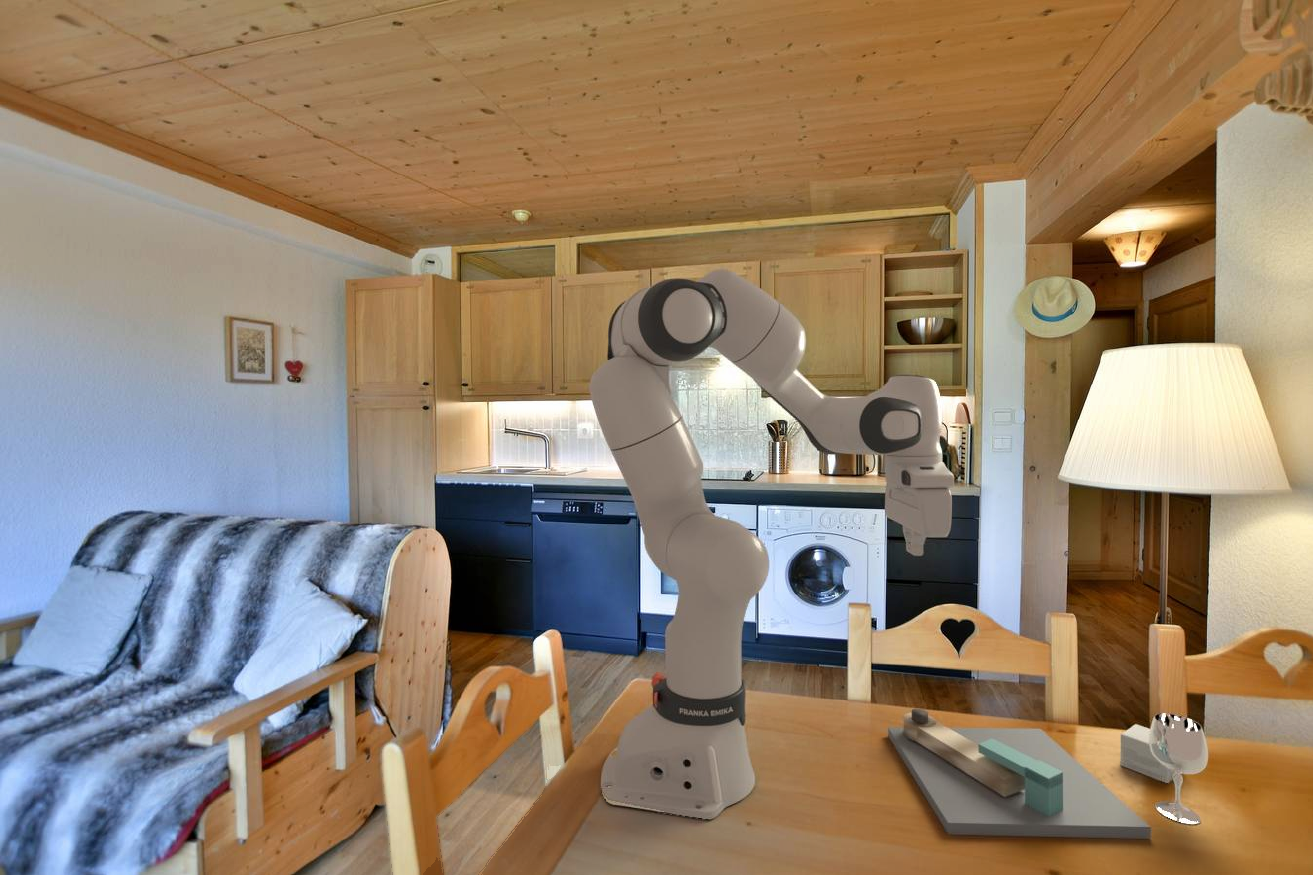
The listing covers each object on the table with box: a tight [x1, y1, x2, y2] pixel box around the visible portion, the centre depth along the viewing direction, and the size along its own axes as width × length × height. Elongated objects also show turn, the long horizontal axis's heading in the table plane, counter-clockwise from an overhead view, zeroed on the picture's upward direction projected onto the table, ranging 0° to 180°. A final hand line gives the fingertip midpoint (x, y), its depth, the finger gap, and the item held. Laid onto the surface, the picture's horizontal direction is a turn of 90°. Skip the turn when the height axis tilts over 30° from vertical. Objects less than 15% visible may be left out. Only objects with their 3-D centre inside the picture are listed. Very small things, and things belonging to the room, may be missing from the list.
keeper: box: [978, 739, 1063, 817], centre depth 79 cm, size 10×3×5 cm, turn 26°
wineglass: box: [1149, 712, 1209, 826], centre depth 76 cm, size 6×6×12 cm
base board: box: [887, 726, 1152, 840], centre depth 84 cm, size 24×23×2 cm
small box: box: [1119, 723, 1174, 784], centre depth 86 cm, size 6×6×5 cm
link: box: [902, 708, 1025, 797], centre depth 87 cm, size 18×5×4 cm, turn 22°
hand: (914, 553), depth 99 cm, fingers closed
